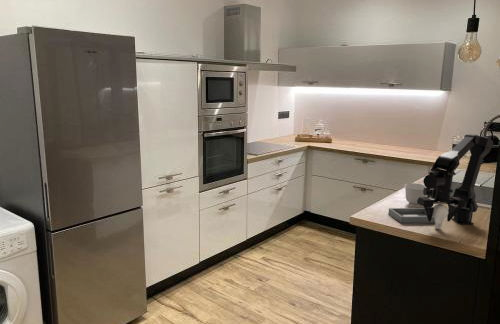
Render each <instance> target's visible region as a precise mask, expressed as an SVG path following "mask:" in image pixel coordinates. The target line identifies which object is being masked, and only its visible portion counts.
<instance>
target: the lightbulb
mask: <svg viewBox="0 0 500 324" xmlns="http://www.w3.org/2000/svg"><path fill="white" fill-rule="evenodd" d="M432 207H433V208H434V211H433V216H434V219H435V223H434V229H436V230H441V229H442V226H443V222H444V221H445V220H446V219H447V216H448V213H449V211H448V209H449V208H448V206H446V204H434V205H433V206H432Z"/></svg>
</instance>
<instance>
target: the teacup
mask: <svg viewBox="0 0 500 324" xmlns="http://www.w3.org/2000/svg"><path fill="white" fill-rule="evenodd" d="M403 186H404V188H405V199H406V201H407V202H408V205H409V206H411V207H413V208H421V207H422V206H421V205H420V204H418V203H417V200H418V198H419V197H427V195H424V194H423V190H424V188H427V187H426V186H425V185H424V184H421V183H414V182H413V183H412V182H409V183H405V184H404V185H403ZM430 190H433V189H430Z"/></svg>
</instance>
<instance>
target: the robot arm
mask: <svg viewBox="0 0 500 324" xmlns="http://www.w3.org/2000/svg"><path fill="white" fill-rule="evenodd" d="M493 146H494V140H492V138H491V137H488V136H481V135H478V134H472V133H467V134H465V135H464V136H463V138H462V139H461V140H460V141H459V142H458V143H457V144H456V145H455V146H454V147H453V148H452V149H450V151H446V152H443V153H442V154H440V155H438V157H437V158H436V160H435V161H434V163H433V165H432V166H431V169H430V171H429V172H428V174H427V175H425V176H424V178H423V181H422V182H423V185H425V186H426V187H427V188H424V190H423V194H424V195H427V197H419V198H418V200H417V203H418V204H420V205H421V206H420V207H422V208H425V211H426V214H427V218H428V221H429V222H430V221H431V219H432V215H433V211H434V208H433V207H434V206H435V205H437V204H442V205H447V208H448V211H449V213H448V216H447V217H446V219H447V220H446V221H447V222H451V220H452V221H454V222H455V223H457V224H459V225H474V222H473V221H472V220H473V215H474V213H477V212H478V211H477V210H478V208H479V206H478V204H477V202H476V192H475V190H474V189H475V185H476V182H477V179H478V176H479V172H480V169H481V166H482V163H483V159H485V157H486V156H488V155H489V154H490V153H491V149H492V148H493ZM468 152H470V158H469V160H468V163H467V167H466V170H465V173H464V176H463V180H462V183H461V185H460V186H459V187H457V188H455V189H454V190H453V189H452V186H453V185H452V184H453V178H454V176H456V172H455V171H456V170H457V169H458V167H459V166H460V160H461V159H462V158H463V157H464V156H465V155H466V154H467V153H468ZM430 189H433V190H430ZM451 193H453V195H452V196H451Z"/></svg>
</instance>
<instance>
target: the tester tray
mask: <svg viewBox="0 0 500 324" xmlns="http://www.w3.org/2000/svg"><path fill="white" fill-rule="evenodd" d="M387 215H389V217H391V218H392V219H394V220H395V221H396V222H398V223H400V224H403V225H404V224H435V219H434V216H433V215H432V219H431V221H430V222H429V221H428V218H427V214H426V211H425V208H424V207H393V208H392V207H390V208H388V214H387Z"/></svg>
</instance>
